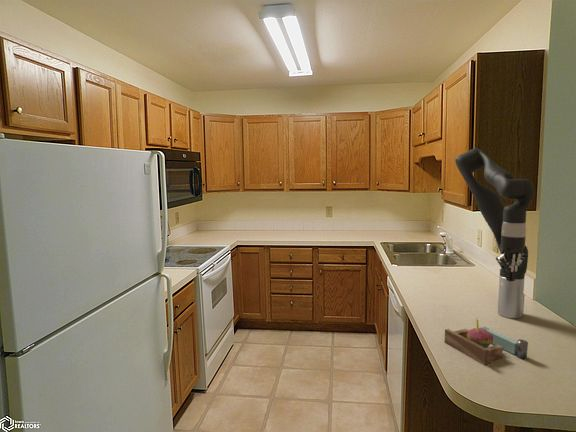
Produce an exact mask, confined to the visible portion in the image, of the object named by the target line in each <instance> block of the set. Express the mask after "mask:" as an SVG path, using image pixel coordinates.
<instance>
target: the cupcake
mask: <svg viewBox="0 0 576 432" xmlns="http://www.w3.org/2000/svg"><path fill="white" fill-rule="evenodd" d="M475 322H476V323H475V324H476V327H475V328H471V329H468V330H469V331H468V332H467V338H468V339H469V340H471V341H473V342H475V343H477V344H478V345H480V346H482V347H484V348H487V347H490V345H491V344H492V343H493V336H492V334H491V333H489V332H488V331H487V330H485V329H481V327H480V326H479V319H478V318H476V320H475Z"/></svg>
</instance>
